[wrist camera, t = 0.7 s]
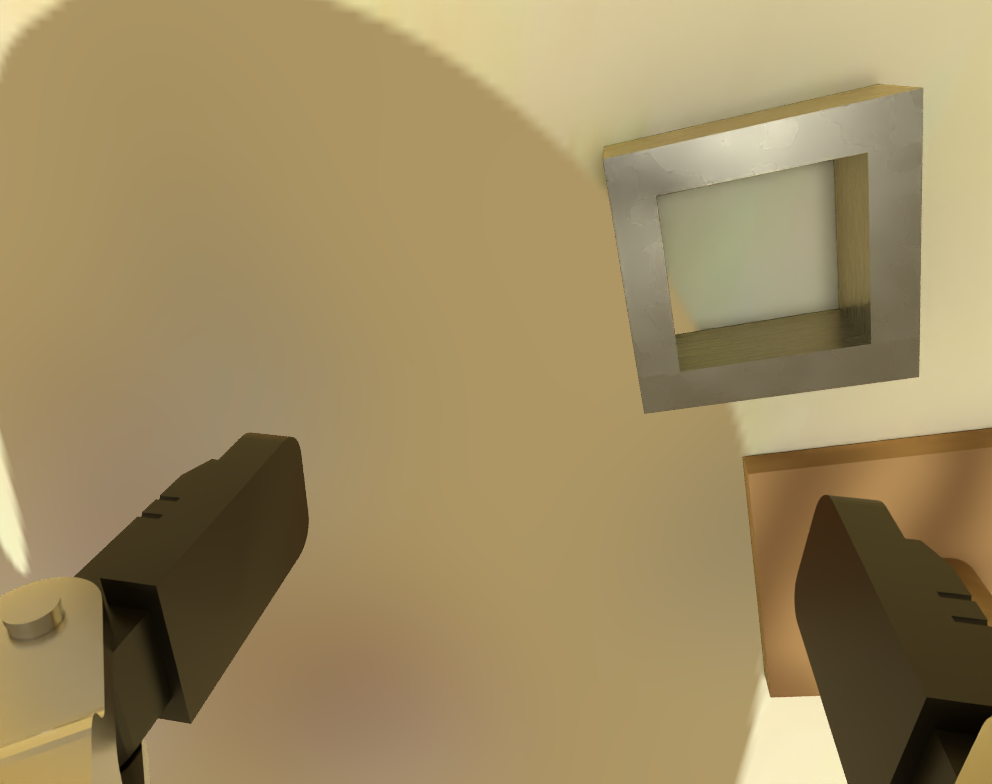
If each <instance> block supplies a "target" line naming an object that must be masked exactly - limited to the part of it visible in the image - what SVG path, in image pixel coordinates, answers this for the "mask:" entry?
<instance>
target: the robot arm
mask: <svg viewBox="0 0 992 784" xmlns="http://www.w3.org/2000/svg"><path fill="white" fill-rule="evenodd" d="M308 524H309V517H308V507H307V499H306V490H305V482H304V473H303V465H302V457H301V450H300V446H299V443H298V441H297V440H296V439H295V438H294V437H287V436H277V435H268V434H259V433H246V434H245V435H243V436H242V437H241V438H240V439H239V440H238V441H237V442H236V443H235V444H234V445H233V446H232V447H231V448H230V449H229V450H228V451H227V452H226V453H225V454H224V455H223V456H222V457H221V458H220V459H219V460H215V459H211V460H209V461H208V462H206V463H204V464H202V465H200V466H198V467H196V468H194V469H192V470H191V471H189V472H187V473H185V474H183V475H181V476H180V477H179V478H178V479H177V480H176V481H175V482H174V483H173V484H172V485H171V486H169V488H167V489H166V490H165V491H164V492H163V493H162V494H161V495H160V499H159V500H155V501H154V502H153V503H152V504H150V505H149V506H148V507H147V508H146V509H145V510H144V511H143V512H142V516H141V517H137V518H136V519H135V520H133V521H132V523H130V524H129V525H128V526H127V527H126V528H125V529H124V530H123V531H122V532H121V533H120V534H119V535H118V536H117V537H116V538H115V539H114V540H112V541H111V542H110V543H109V544H108V545H107V546H106V547H105V548H104V549H103V550H102V551H101V552H100V553H99V554H98V555H96V556H95V558H93V559H92V560H91V561H90V562H89V563H88V564H87V565H86V566H85V567H84V568H83V569H82V570H81V571H80V572H79V573H77V574H76V575H75V576H74V577H55V578H48V579H44V580H39V581H35V582H32V583H29V584H26V585H24V586H21V587H19V588H16V589H14V590H12V591H10V592H8V593H6V594H4V595H2V596H0V784H151V781H150V769H149V758H148V749H147V745H146V742H145V738H144V737H145V736H146V734H147V733H148V731H149V730H150V729H151V727H152V726H153V724H154V723H155V722H156V720H157V719H158V718H160V719H166V720H172V721H178V722H184V723H190V724H191V723H192V721H193V720H194V718H195V717H196V715H197V713H198V712H199V711H200V709H201V707H202V706H203V704H204V703H205V701H206V700H207V698H208V697H209V695H210V693H211V692H212V690H213V689H214V687H215V686H216V684H217V682H218V681H219V680H220V678H221V677H222V675H223V673H224V672H225V670H226V669H227V667H228V666H229V664H230V663H231V661H232V660H233V658H234V656H235V655H236V653H237V652H238V650H239V648H240V647H241V646H242V644H243V642H244V641H245V640H246V638H247V636H248V635H249V633H250V632H251V630H252V628H253V627H254V625H255V624H256V622H257V621H258V619H259V618H260V616H261V615H262V613H263V612H264V610H265V609H266V607H267V606H268V604H269V602H270V601H271V599H272V597H273V596H274V595H275V593H276V592H277V590H278V588H279V587H280V585H281V584H282V582H283V581H284V579H285V578H286V576H287V575H288V573H289V572H290V570H291V568H292V567H293V565H294V564H295V562H296V560H297V559H298V558H299V556H300V554H301V552H302V550H303V548H304V545H305V542H306V538H307V533H308ZM971 597H972V595H971V594H970V592H969V591H968V589H967V588H966V586H965V585H964V583H963V581H962V580H961V578H960V577H959V575H958V574H957V572H956V571H955V569H954V568H953V566H951V565H950V564H949V563H948V562H947V561H945V560H944V559H943V558H942V557H940V556H939V555H938V554H937V553H936V552H934V551H933V550H932V549H931V548H930V547H928V546H927V545H926V544H925V543H923V542H922V541H921V540H915V539H906V538H905V537H904V536H903V534H902V532H901V531H900V529H899V527H898V526H897V524H896V522H895V521H894V519H893V517H892V516H891V514H890V512H889V510H888V509H887V507H886V506H885V504H884V503H883V502H882V501H879V500H871V499H861V498H852V497H842V496H833V495H823V496H822V497H821V498H820V499H819V501H818V503H817V505H816V508H815V512H814V515H813V519H812V523H811V526H810V530H809V533H808V537H807V541H806V544H805V548H804V552H803V555H802V559H801V563H800V566H799V570H798V573H797V577H796V583H795V592H794V605H795V614H796V620H797V623H798V627H799V630H800V633H801V636H802V639H803V643H804V646H805V649H806V652H807V655H808V659H809V662H810V665H811V668H812V671H813V674H814V678H815V681H816V684H817V687H818V690H819V694H820V697H821V700H822V703H823V706H824V710H825V713H826V716H827V719H828V722H829V726H830V729H831V732H832V735H833V738H834V742H835V745H836V748H837V751H838V754H839V757H840V761H841V764H842V767H843V770H844V773H845V777H846V780H847V783H848V784H992V627H991V626H988V624H987V622H988V620H987V618H986V617H985V615H984V614H983V612H982V610H981V609H980V607H979V606H978V604H977V603H976V601H972V600H971Z"/></svg>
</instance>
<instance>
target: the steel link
mask: <svg viewBox="0 0 992 784" xmlns="http://www.w3.org/2000/svg"><path fill="white" fill-rule="evenodd" d="M922 135H923V88H920V87H908V86H896V85H884V84H877V85H873V86H868V87H864V88H859V89H855V90H851V91H846V92H842V93H837V94H833V95H829V96H824V97H820V98H815V99H811V100H807V101H802V102H798V103H793V104H789V105H785V106H780V107H776V108H772V109H767V110H763V111H758V112H754V113H750V114H745V115H741V116H736V117H732V118H728V119H723V120H719V121H714V122H710V123H706V124H701V125H697V126H692V127H688V128H684V129H679V130H675V131H670V132H666V133H662V134H657V135H653V136H648V137H644V138H640V139H635V140H631V141H626V142H622V143H618V144H613V145H609V146H604V153H603V164H604V170H605V176H606V182H607V188H608V194H609V200H610V206H611V212H612V218H613V225H614V231H615V237H616V243H617V249H618V255H619V262H620V268H621V273H622V279H623V286H624V292H625V298H626V304H627V311H628V317H629V323H630V329H631V335H632V341H633V347H634V353H635V359H636V366H637V372H638V378H639V384H640V390H641V396H642V402H643V408H644V413H653V412H660V411H668V410H676V409H682V408H690V407H698V406H705V405H713V404H720V403H728V402H735V401H743V400H750V399H758V398H765V397H773V396H780V395H787V394H795V393H802V392H810V391H817V390H825V389H832V388H840V387H847V386H855V385H862V384H870V383H877V382H884V381H892V380H899V379H907V378H914V377H919V345H920V275H921V205H922ZM833 159H834V177H835V205H836V234H837V263H838V292H839V309H834V310H828V311H821V312H815V313H809V314H803V315H796V316H790V317H784V318H777V319H771V320H765V321H759V322H752V323H746V324H740V325H733V326H727V327H721V328H715V329H708V330H702V331H696V332H690V333H683V334H677V335H675V330H674V323H673V316H672V308H671V301H670V294H669V286H668V279H667V272H666V264H665V257H664V250H663V242H662V235H661V228H660V220H659V213H658V206H657V198H656V196H659V195H664V194H668V193H673V192H678V191H683V190H688V189H693V188H697V187H702V186H707V185H712V184H717V183H722V182H726V181H731V180H736V179H741V178H746V177H751V176H755V175H760V174H765V173H770V172H775V171H780V170H784V169H789V168H794V167H799V166H804V165H809V164H813V163H818V162H823V161H828V160H833Z"/></svg>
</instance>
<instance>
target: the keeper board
mask: <svg viewBox="0 0 992 784" xmlns="http://www.w3.org/2000/svg"><path fill="white" fill-rule="evenodd" d="M743 466H744V476H745V485H746V495H747V504H748V515H749V524H750V534H751V544H752V554H753V563H754V573H755V583H756V592H757V601H758V612H759V622H760V632H761V641H762V651H763V661H764V671H765V677H766V681H767V685H768V689H769V693H770V697H796V696H820V694H819V690H818V687H817V684H816V681H815V678H814V674H813V671H812V668H811V665H810V662H809V659H808V655H807V652H806V649H805V646H804V643H803V639H802V636H801V633H800V630H799V627H798V623H797V620H796V614H795V605H794V592H795V583H796V577H797V573H798V570H799V566H800V563H801V559H802V555H803V552H804V548H805V544H806V541H807V537H808V533H809V530H810V526H811V523H812V519H813V515H814V512H815V508H816V505H817V503H818V501H819V499H820V498H821V497H822V496H823V495H833V496H842V497H852V498H861V499H871V500H879V501H882V502H883V503H884V504H885V506H886V507H887V509H888V510H889V512H890V514H891V516H892V517H893V519H894V521H895V522H896V524H897V526H898V527H899V529H900V531H901V532H902V534H903V536H904V537H905V538H906V539H915V540H921V541H922V542H923V543H925V544H926V545H927V546H928V547H930V548H931V549H932V550H933V551H934V552H936V553H937V554H938V555H939V556H940V557H942V558H943V559H944V560H945V561H947V562H948V563H949V564H950V565H951V566H953V568H954V569H955V571H956V572H957V574H958V575H959V577H960V578H961V580H962V581H963V583H964V585H965V586H966V588H967V589H968V591H969V592H970V594H971V595H972V597H971V600H972V601H976V603H977V604H978V606H979V607H980V609H981V610H982V612H983V614H984V615H985V617H986V618H987V620H988V622H987V624H988V626H991V627H992V428H989V429H980V430H971V431H963V432H954V433H945V434H937V435H928V436H919V437H911V438H902V439H893V440H885V441H876V442H867V443H859V444H850V445H841V446H833V447H824V448H815V449H807V450H798V451H789V452H781V453H772V454H763V455H755V456H746V457H743Z"/></svg>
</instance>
